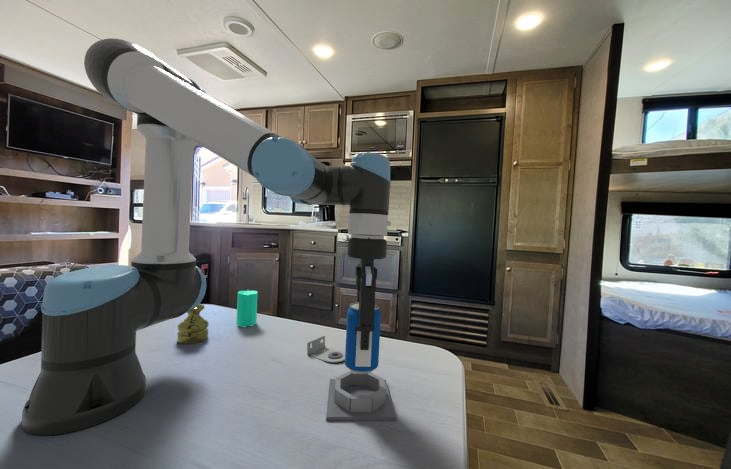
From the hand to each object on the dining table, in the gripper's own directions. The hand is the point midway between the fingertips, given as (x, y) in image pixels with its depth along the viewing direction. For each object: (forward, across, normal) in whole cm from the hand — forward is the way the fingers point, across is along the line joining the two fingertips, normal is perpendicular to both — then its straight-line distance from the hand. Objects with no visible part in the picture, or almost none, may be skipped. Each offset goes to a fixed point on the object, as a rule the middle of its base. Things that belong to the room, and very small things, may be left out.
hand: (361, 356), depth 54 cm
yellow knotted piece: (+9, +27, +45) cm, 53 cm away
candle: (+8, +40, +35) cm, 54 cm away
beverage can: (+2, 0, 0) cm, 2 cm away
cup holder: (+8, 0, 0) cm, 8 cm away
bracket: (+9, +19, +7) cm, 22 cm away
